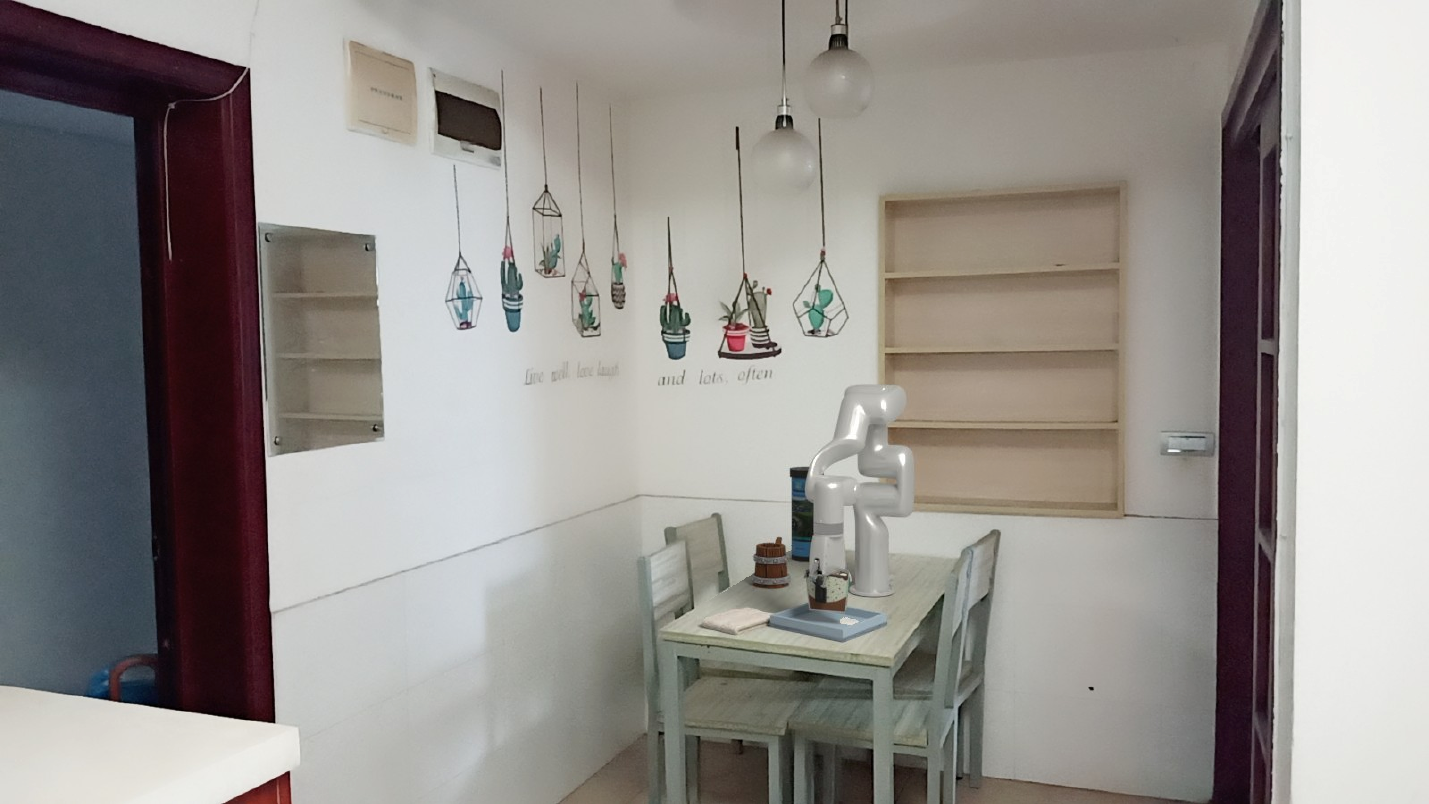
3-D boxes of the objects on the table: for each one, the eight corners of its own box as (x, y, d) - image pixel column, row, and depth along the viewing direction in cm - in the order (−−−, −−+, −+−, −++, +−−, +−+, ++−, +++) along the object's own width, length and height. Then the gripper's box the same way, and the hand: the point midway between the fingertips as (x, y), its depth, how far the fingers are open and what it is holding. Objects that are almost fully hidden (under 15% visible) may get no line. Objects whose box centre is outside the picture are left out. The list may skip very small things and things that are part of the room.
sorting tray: (815, 611, 282) (815, 600, 282) (886, 625, 268) (887, 613, 268) (769, 626, 267) (769, 615, 267) (843, 642, 253) (843, 630, 253)
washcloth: (782, 623, 272) (782, 611, 272) (736, 638, 259) (736, 625, 259) (746, 615, 280) (746, 604, 280) (700, 629, 267) (700, 617, 267)
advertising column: (825, 555, 356) (825, 466, 354) (822, 562, 345) (822, 471, 343) (791, 554, 358) (791, 466, 356) (787, 561, 347) (787, 470, 345)
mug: (744, 587, 310) (746, 535, 311) (759, 585, 323) (762, 535, 325) (782, 590, 306) (785, 537, 307) (796, 588, 319) (798, 538, 320)
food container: (857, 607, 268) (857, 568, 268) (851, 613, 263) (851, 573, 262) (810, 603, 273) (810, 565, 272) (803, 609, 267) (803, 570, 267)
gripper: (835, 523, 275) (835, 591, 276) (796, 532, 262) (796, 604, 263) (859, 526, 270) (859, 596, 271) (821, 535, 257) (821, 608, 258)
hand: (828, 599), depth 267 cm, fingers closed on food container, 6 cm apart
